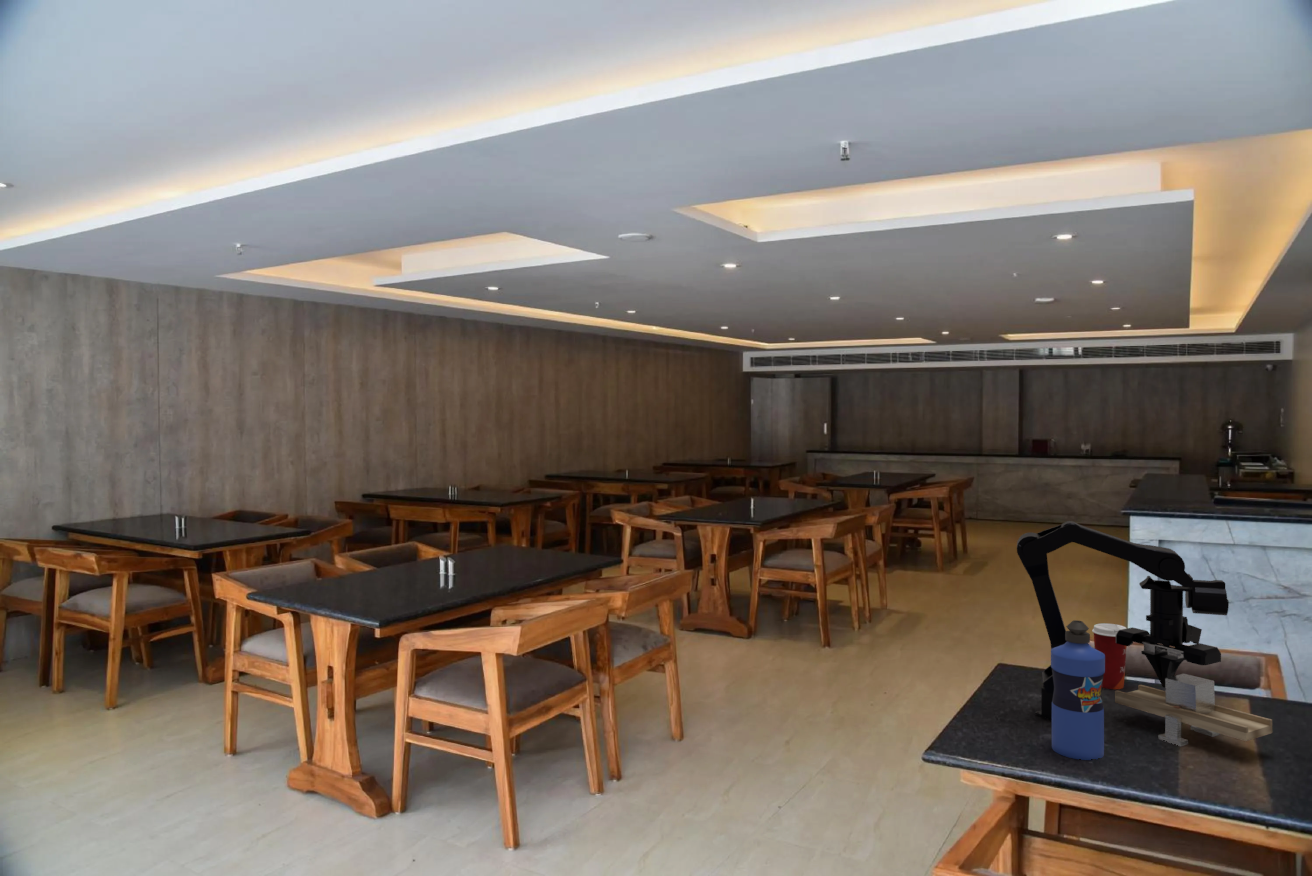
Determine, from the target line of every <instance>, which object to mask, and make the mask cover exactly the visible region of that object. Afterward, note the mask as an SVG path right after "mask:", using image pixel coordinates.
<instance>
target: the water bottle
mask: <svg viewBox="0 0 1312 876" xmlns="http://www.w3.org/2000/svg"><path fill="white" fill-rule="evenodd" d="M1065 628H1066V629H1068V630H1066V632H1065V640H1066V641H1067V642H1066V643H1065V644H1063V645H1060V646H1057V647H1055V648H1052V649H1051V648H1050V665H1051V668H1052V673H1053V681H1054V693H1053V699H1052V720H1051V749H1052V750H1053V751H1054V753H1057V754H1058V755H1061V756H1063V757H1066V758H1069V759H1073V760H1079V759H1081V761H1092V760H1091V759H1096V760H1099V759H1098V758H1100V759H1101V758H1104V755H1105V709H1104V707H1105V706H1104V702H1103V695H1102V691H1103V688H1102V684H1103V676H1104V673H1105V655H1104V653H1102V652H1100V651H1098V650H1096V649H1095V647H1092V646H1091V645H1090V643H1091V634H1090V632H1087V631H1089V629H1090V627H1088V625H1087V624H1085V623H1084V621H1082V620H1078V619H1077V620H1075V619H1074V620H1072V621H1071V622H1069V623H1068V624H1067V625H1066V626H1065Z"/></svg>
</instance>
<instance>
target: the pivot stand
mask: <svg viewBox="0 0 1312 876" xmlns="http://www.w3.org/2000/svg"><path fill="white" fill-rule="evenodd" d="M1164 720H1165V722H1164V724H1165V726H1164V728H1165V731H1164V733H1160V734H1158V735H1157V736H1158V738H1157V739H1158V740H1160V741H1163V740H1165V741H1164V742H1166V741H1167V742H1166V743H1169V744H1171V743H1172V744H1171V745H1174V744H1176V745H1175V746H1177V745H1178V747H1185V746H1187V745H1189V740H1188V739H1185V738H1183V737H1182V724H1181V718H1180V717H1177V716H1174V715H1171V714H1168V715H1165V717H1164ZM1189 727H1190V728H1189V729H1191V731H1193V730H1194V731H1193V732H1196V733H1199V734H1203V735H1206V736H1209V737H1212V738H1213V737H1217V736H1220V735H1221V734H1220V733H1216V732H1213V731H1209V730H1206V729H1203V728H1199V727H1196V726H1192V725H1189Z"/></svg>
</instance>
